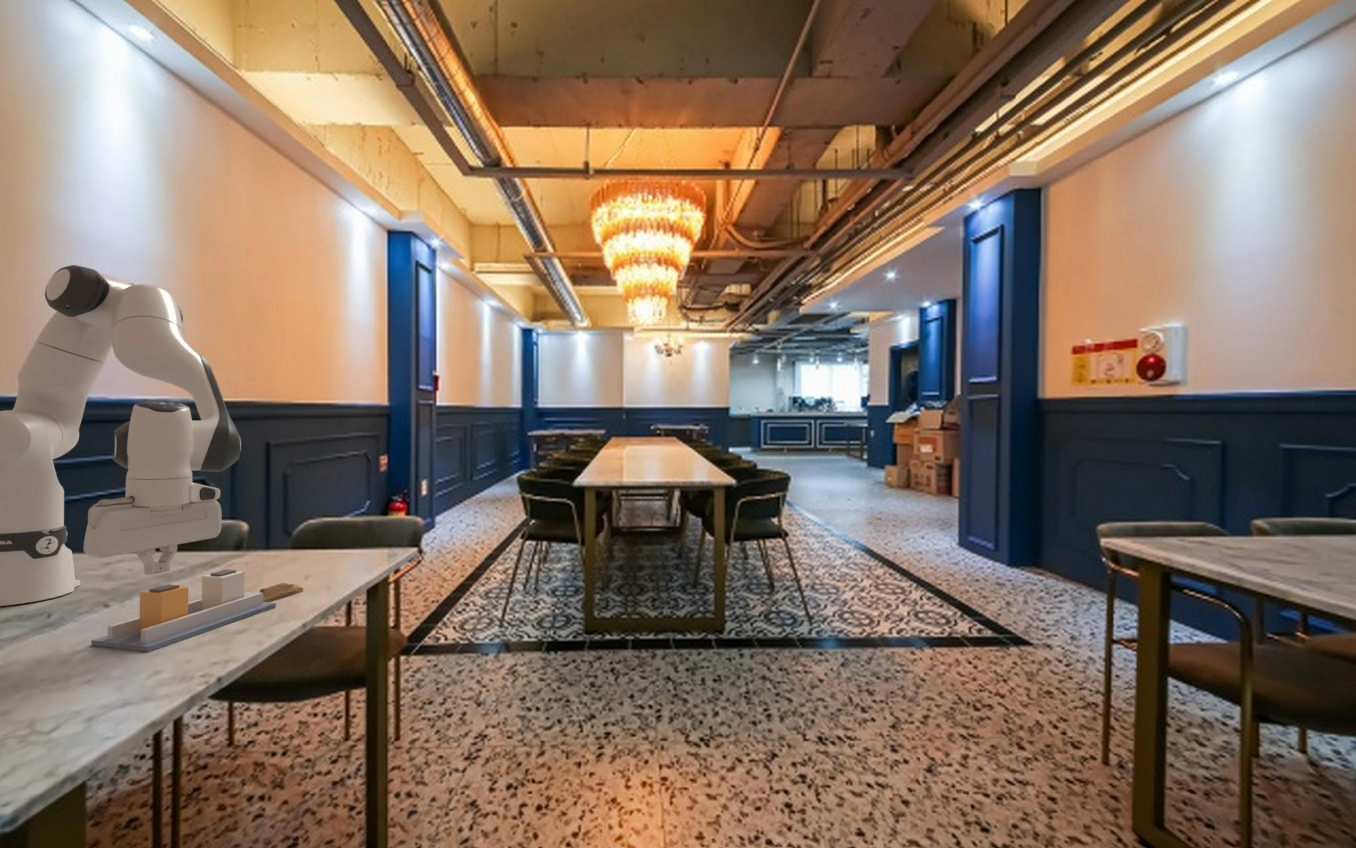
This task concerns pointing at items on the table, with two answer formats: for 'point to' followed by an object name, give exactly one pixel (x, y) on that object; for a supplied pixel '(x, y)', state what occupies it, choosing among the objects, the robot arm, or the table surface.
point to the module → (162, 605)
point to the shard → (279, 591)
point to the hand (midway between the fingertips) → (156, 572)
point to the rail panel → (191, 615)
